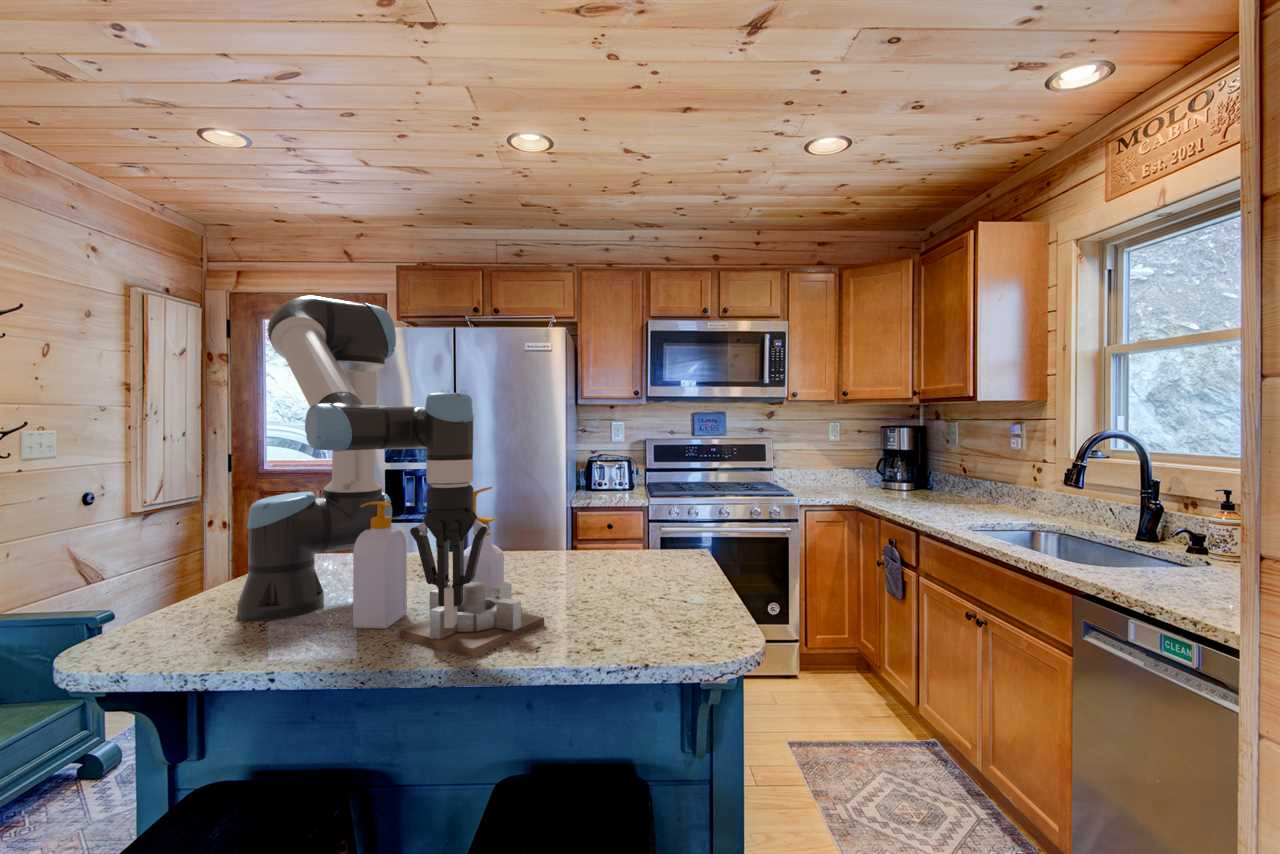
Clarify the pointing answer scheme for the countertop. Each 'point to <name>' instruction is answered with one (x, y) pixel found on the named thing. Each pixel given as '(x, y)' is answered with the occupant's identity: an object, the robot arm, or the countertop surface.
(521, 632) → the hub
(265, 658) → the countertop surface
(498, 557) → the soap bottle
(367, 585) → the soap bottle
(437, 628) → the ring nut
